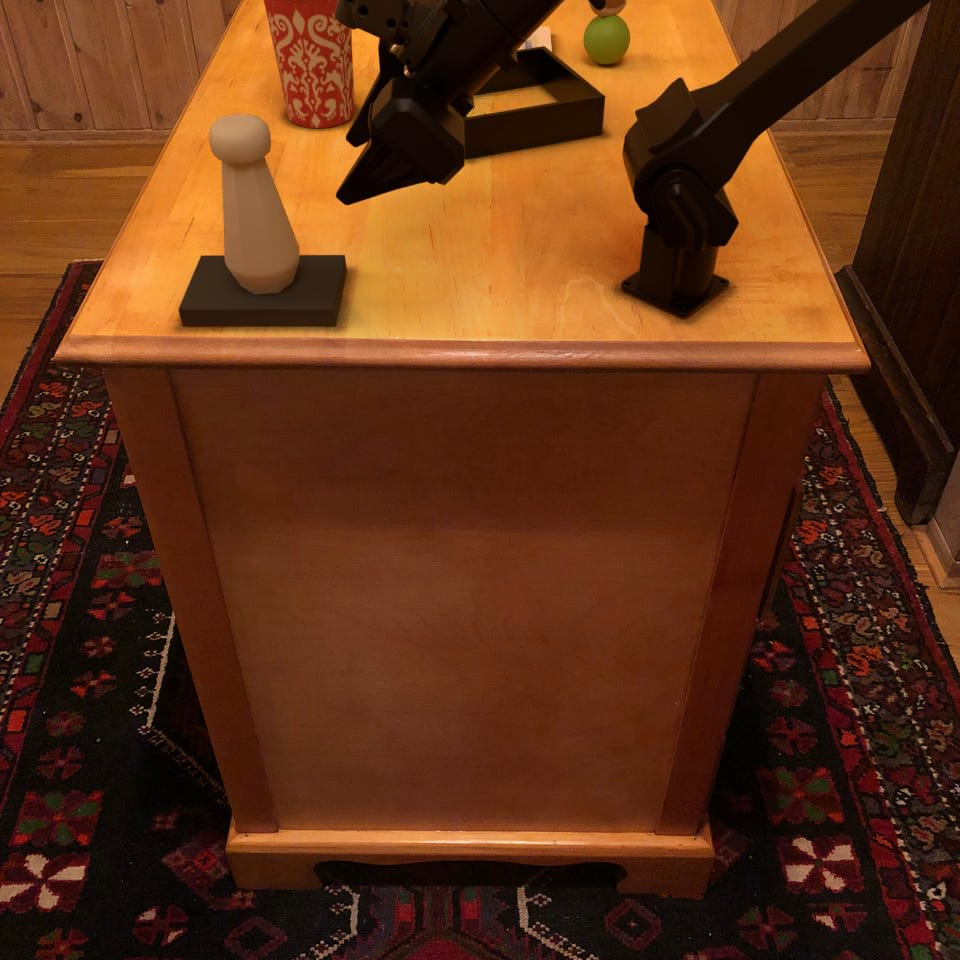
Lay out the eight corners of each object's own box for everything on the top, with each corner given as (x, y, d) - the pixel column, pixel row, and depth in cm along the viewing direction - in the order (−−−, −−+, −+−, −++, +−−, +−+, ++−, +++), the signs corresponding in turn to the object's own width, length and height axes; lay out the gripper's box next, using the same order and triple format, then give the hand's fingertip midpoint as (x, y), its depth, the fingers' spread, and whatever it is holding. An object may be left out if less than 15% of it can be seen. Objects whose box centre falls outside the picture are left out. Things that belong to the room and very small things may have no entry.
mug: (358, 133, 99) (344, -6, 90) (272, 132, 99) (249, -6, 90) (373, 86, 108) (361, -45, 99) (294, 85, 109) (275, -45, 99)
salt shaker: (318, 274, 76) (295, 114, 67) (272, 308, 73) (241, 145, 64) (262, 255, 79) (233, 98, 70) (215, 287, 75) (177, 126, 66)
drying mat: (336, 326, 74) (333, 308, 73) (182, 326, 74) (177, 309, 73) (347, 271, 80) (345, 254, 79) (204, 271, 80) (200, 255, 79)
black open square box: (602, 134, 98) (605, 96, 96) (465, 159, 94) (464, 120, 92) (543, 81, 109) (544, 45, 106) (417, 102, 105) (415, 65, 102)
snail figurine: (566, 62, 113) (571, -50, 104) (608, 51, 115) (617, -59, 107) (594, 77, 110) (602, -38, 101) (637, 65, 112) (648, -48, 104)
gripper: (407, -127, 65) (271, 45, 72) (397, -47, 51) (232, 154, 59) (520, -5, 70) (383, 142, 78) (538, 96, 57) (371, 262, 64)
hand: (345, 170), depth 69 cm, fingers open, 9 cm apart
